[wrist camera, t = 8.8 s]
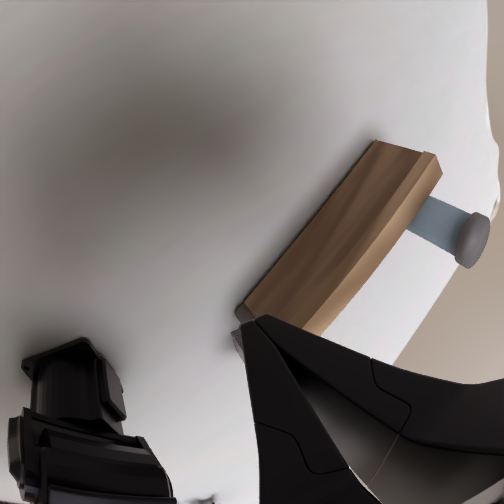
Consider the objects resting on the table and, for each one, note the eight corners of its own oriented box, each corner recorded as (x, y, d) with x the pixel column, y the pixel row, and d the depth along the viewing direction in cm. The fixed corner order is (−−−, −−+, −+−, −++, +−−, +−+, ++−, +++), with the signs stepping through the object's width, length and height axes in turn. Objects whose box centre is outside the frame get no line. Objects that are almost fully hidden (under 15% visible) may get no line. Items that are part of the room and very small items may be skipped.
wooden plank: (230, 314, 24) (265, 368, 19) (374, 137, 22) (435, 154, 17) (247, 323, 25) (283, 374, 20) (384, 154, 23) (442, 173, 19)
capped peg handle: (354, 216, 25) (459, 276, 17) (353, 175, 23) (470, 226, 15) (383, 204, 26) (483, 256, 18) (383, 166, 24) (493, 210, 16)
